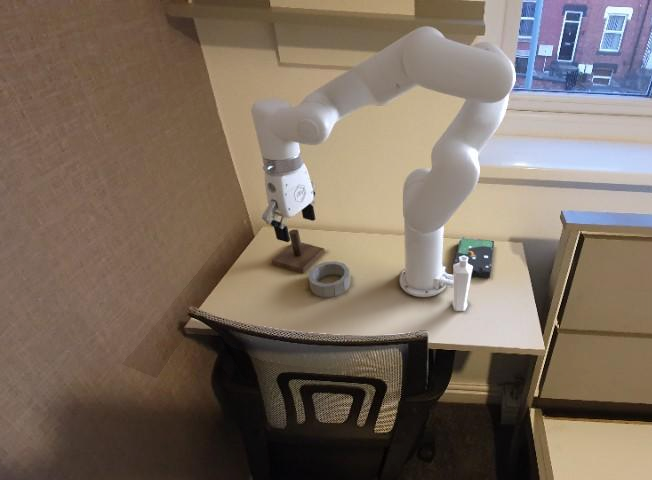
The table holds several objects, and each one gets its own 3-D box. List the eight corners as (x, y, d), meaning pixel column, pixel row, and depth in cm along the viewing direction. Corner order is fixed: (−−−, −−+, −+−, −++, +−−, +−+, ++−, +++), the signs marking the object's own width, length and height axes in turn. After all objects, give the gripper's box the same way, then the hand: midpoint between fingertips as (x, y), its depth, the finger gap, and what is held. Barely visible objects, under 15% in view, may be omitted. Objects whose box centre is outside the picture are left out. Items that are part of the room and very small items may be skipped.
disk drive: (490, 279, 107) (493, 247, 119) (491, 271, 106) (494, 240, 118) (452, 274, 108) (459, 243, 120) (453, 267, 107) (459, 235, 119)
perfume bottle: (471, 311, 97) (476, 263, 89) (454, 313, 96) (457, 265, 88) (466, 298, 101) (470, 251, 92) (449, 300, 100) (452, 253, 91)
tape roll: (357, 277, 106) (356, 266, 104) (337, 301, 98) (335, 290, 96) (325, 268, 108) (323, 257, 106) (302, 291, 100) (300, 280, 98)
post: (325, 252, 114) (320, 226, 109) (303, 273, 106) (297, 246, 101) (295, 244, 116) (289, 218, 111) (272, 264, 109) (265, 237, 103)
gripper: (270, 182, 75) (287, 253, 85) (321, 150, 89) (331, 215, 99) (238, 174, 77) (258, 245, 87) (293, 144, 91) (305, 208, 101)
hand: (297, 229), depth 93 cm, fingers open, 9 cm apart
